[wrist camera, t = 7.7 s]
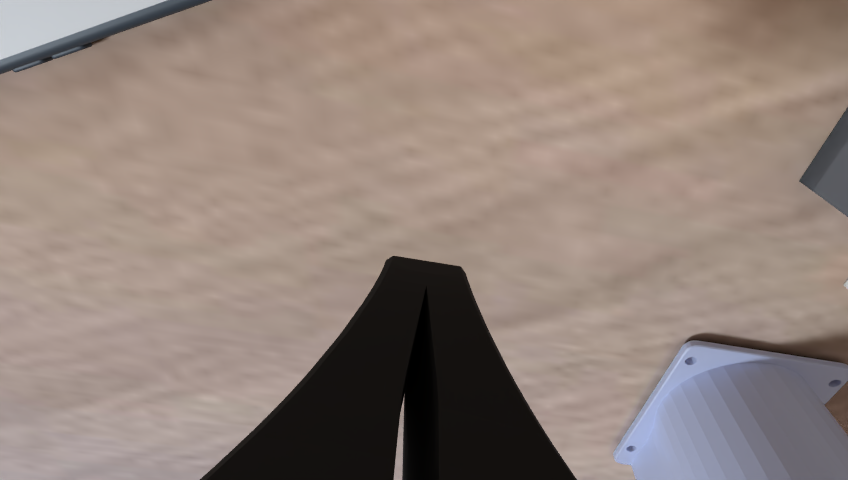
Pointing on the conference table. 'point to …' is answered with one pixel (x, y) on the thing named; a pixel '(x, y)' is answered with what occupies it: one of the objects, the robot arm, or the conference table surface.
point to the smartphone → (70, 25)
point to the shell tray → (831, 168)
